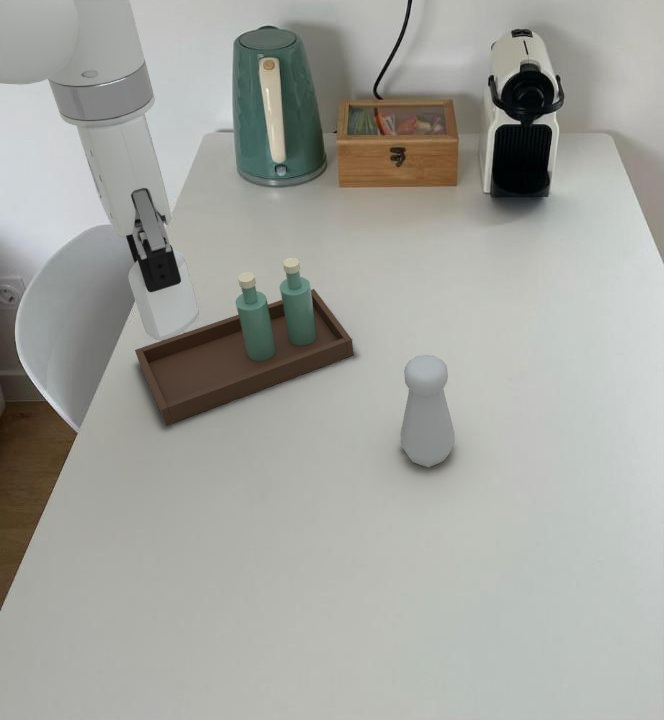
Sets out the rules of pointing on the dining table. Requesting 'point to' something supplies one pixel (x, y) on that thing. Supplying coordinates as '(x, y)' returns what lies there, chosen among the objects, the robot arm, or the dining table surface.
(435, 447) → the salt shaker
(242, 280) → the green bottle
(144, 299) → the white plastic bottle
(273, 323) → the tray
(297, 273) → the green bottle
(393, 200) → the dining table surface
